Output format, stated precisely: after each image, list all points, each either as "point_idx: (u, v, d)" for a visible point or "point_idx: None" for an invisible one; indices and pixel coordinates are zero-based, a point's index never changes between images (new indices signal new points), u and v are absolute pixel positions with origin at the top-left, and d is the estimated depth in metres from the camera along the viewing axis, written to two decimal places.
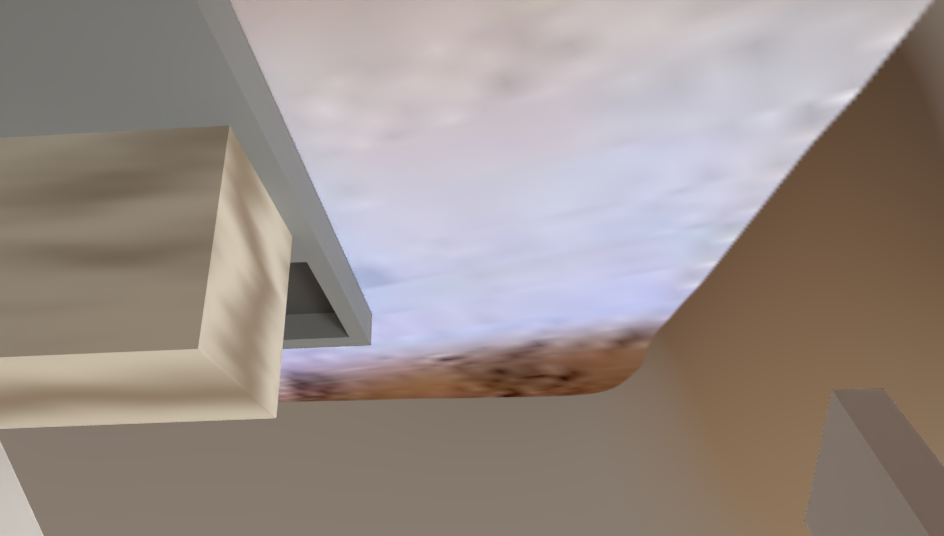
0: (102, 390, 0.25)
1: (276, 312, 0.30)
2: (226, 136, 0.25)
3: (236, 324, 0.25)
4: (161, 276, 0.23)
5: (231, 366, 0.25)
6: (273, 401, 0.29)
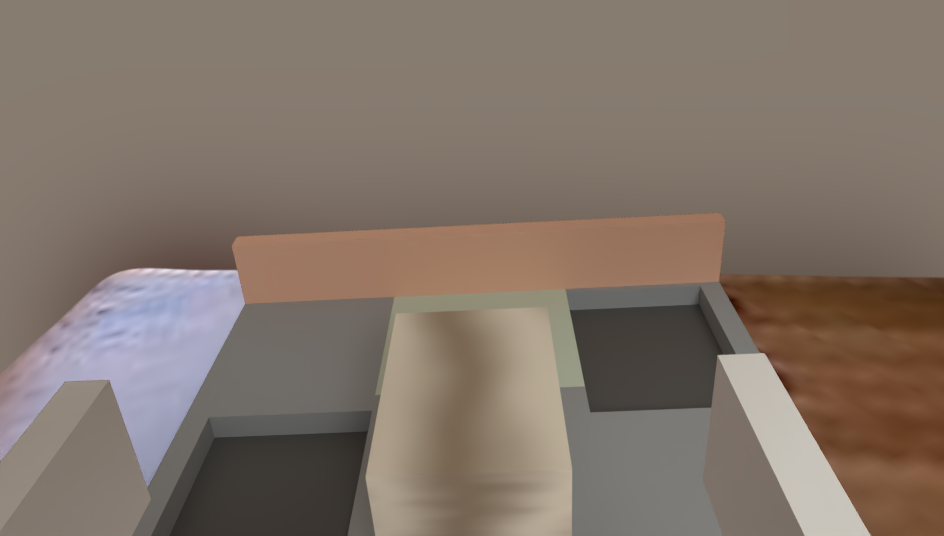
0: (477, 397, 0.33)
1: None
2: None
3: (503, 506, 0.30)
4: None
5: (500, 478, 0.29)
6: (380, 486, 0.29)
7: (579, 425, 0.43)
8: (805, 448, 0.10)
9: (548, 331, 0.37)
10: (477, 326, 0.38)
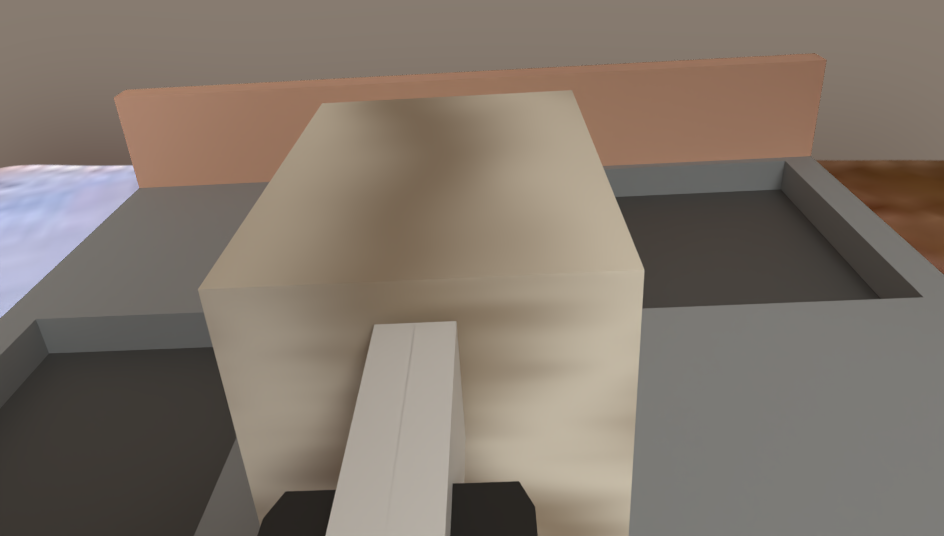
0: (448, 181, 0.17)
1: (296, 454, 0.15)
2: None
3: (495, 362, 0.14)
4: None
5: (486, 294, 0.14)
6: (232, 312, 0.14)
7: None
8: (439, 399, 0.12)
9: (576, 111, 0.22)
10: (455, 110, 0.23)
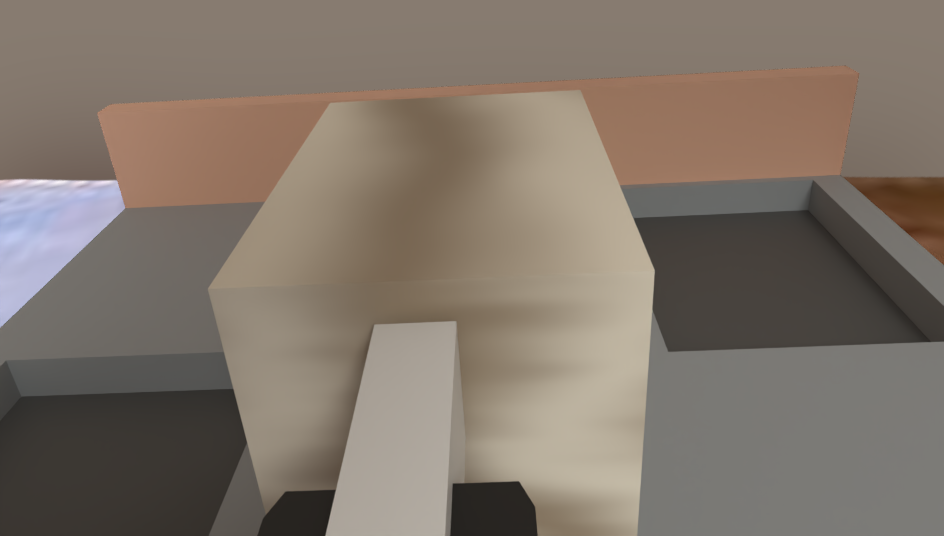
0: (457, 181, 0.17)
1: (304, 453, 0.15)
2: None
3: (505, 362, 0.14)
4: None
5: (497, 294, 0.13)
6: (242, 311, 0.14)
7: (652, 372, 0.24)
8: (439, 399, 0.12)
9: (584, 111, 0.22)
10: (463, 110, 0.23)
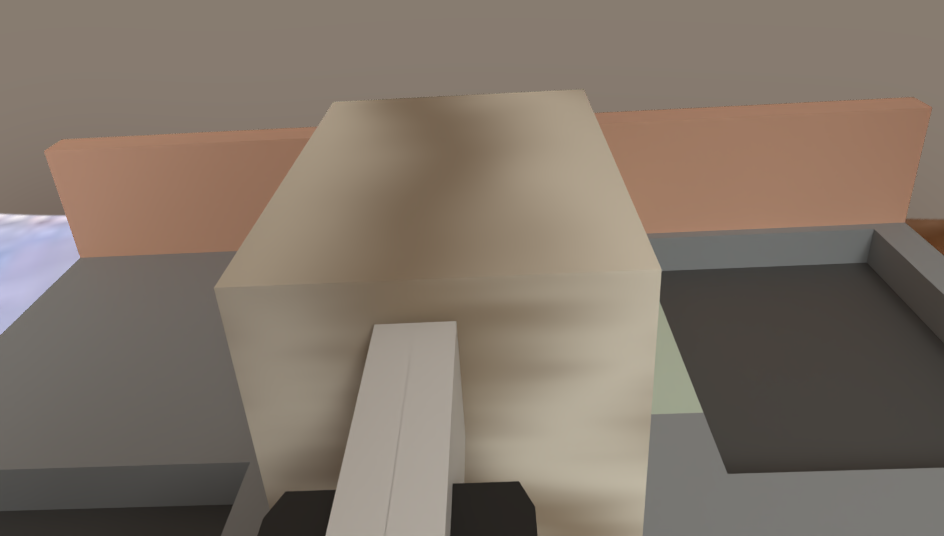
0: (462, 179, 0.17)
1: (310, 453, 0.15)
2: None
3: (511, 361, 0.14)
4: None
5: (503, 293, 0.13)
6: (248, 310, 0.14)
7: (710, 505, 0.19)
8: (439, 399, 0.12)
9: (588, 110, 0.22)
10: (466, 109, 0.22)
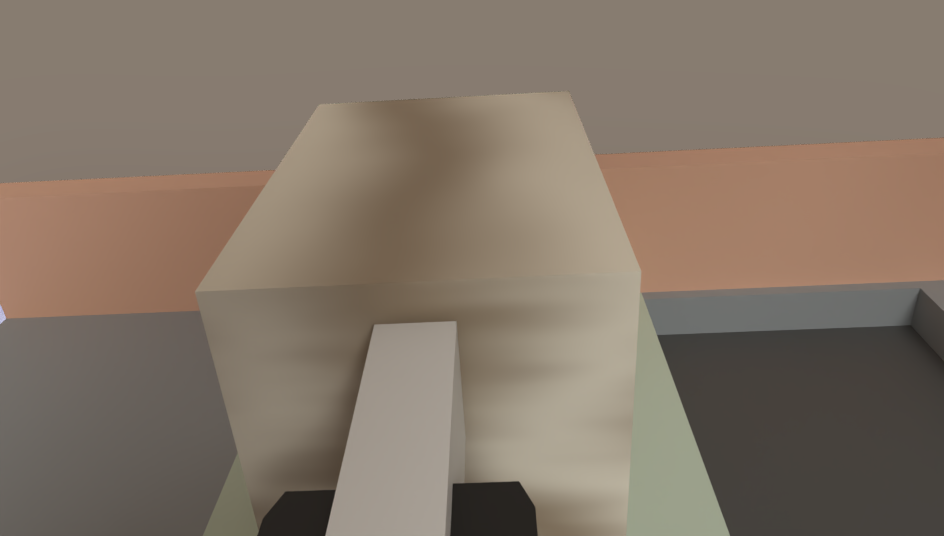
0: (445, 182, 0.17)
1: (294, 455, 0.15)
2: None
3: (492, 363, 0.14)
4: None
5: (484, 296, 0.14)
6: (229, 314, 0.14)
7: None
8: (440, 399, 0.12)
9: (573, 112, 0.22)
10: (452, 111, 0.23)
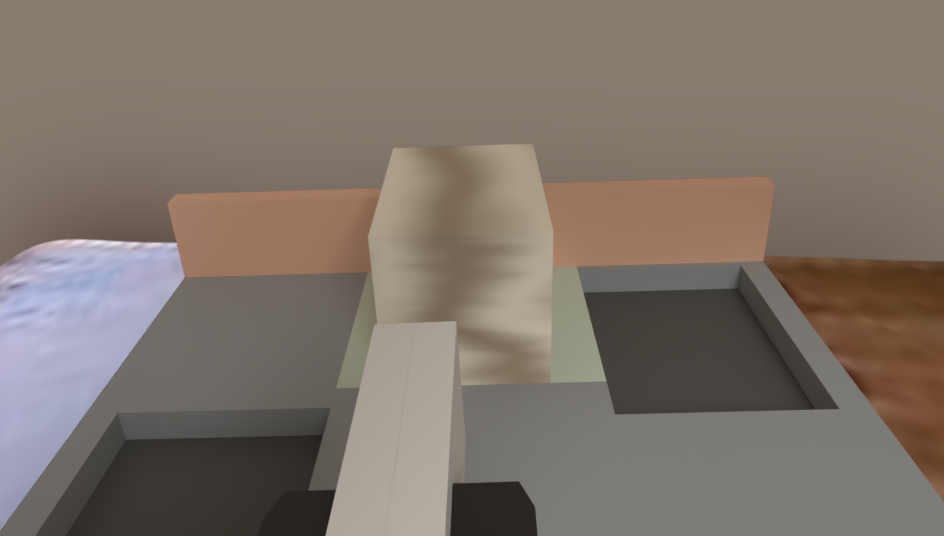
0: (468, 193, 0.36)
1: (401, 314, 0.34)
2: (550, 374, 0.36)
3: (491, 270, 0.33)
4: None
5: (488, 240, 0.32)
6: (381, 247, 0.33)
7: (602, 430, 0.33)
8: (439, 399, 0.12)
9: (533, 157, 0.41)
10: (468, 154, 0.42)
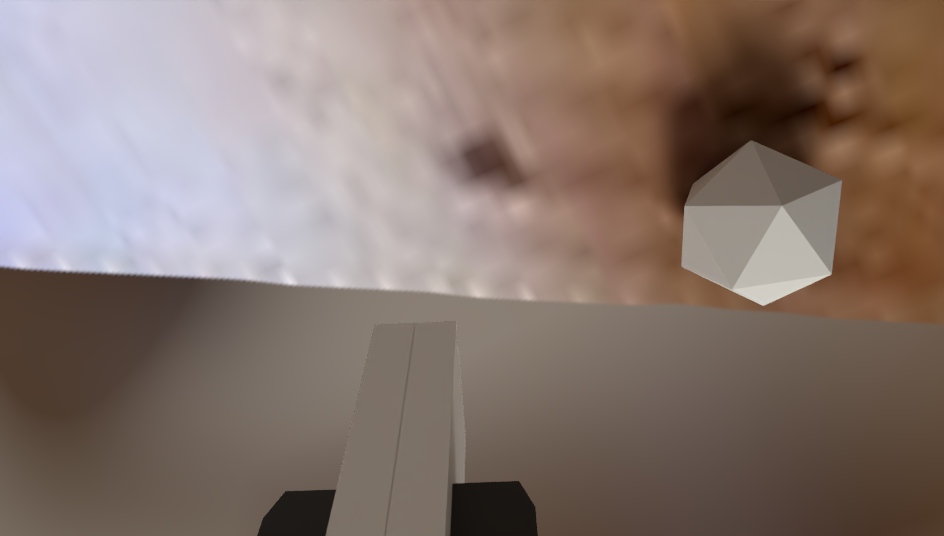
0: None
1: None
2: None
3: None
4: None
5: None
6: None
7: None
8: (439, 399, 0.12)
9: None
10: None
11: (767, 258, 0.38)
